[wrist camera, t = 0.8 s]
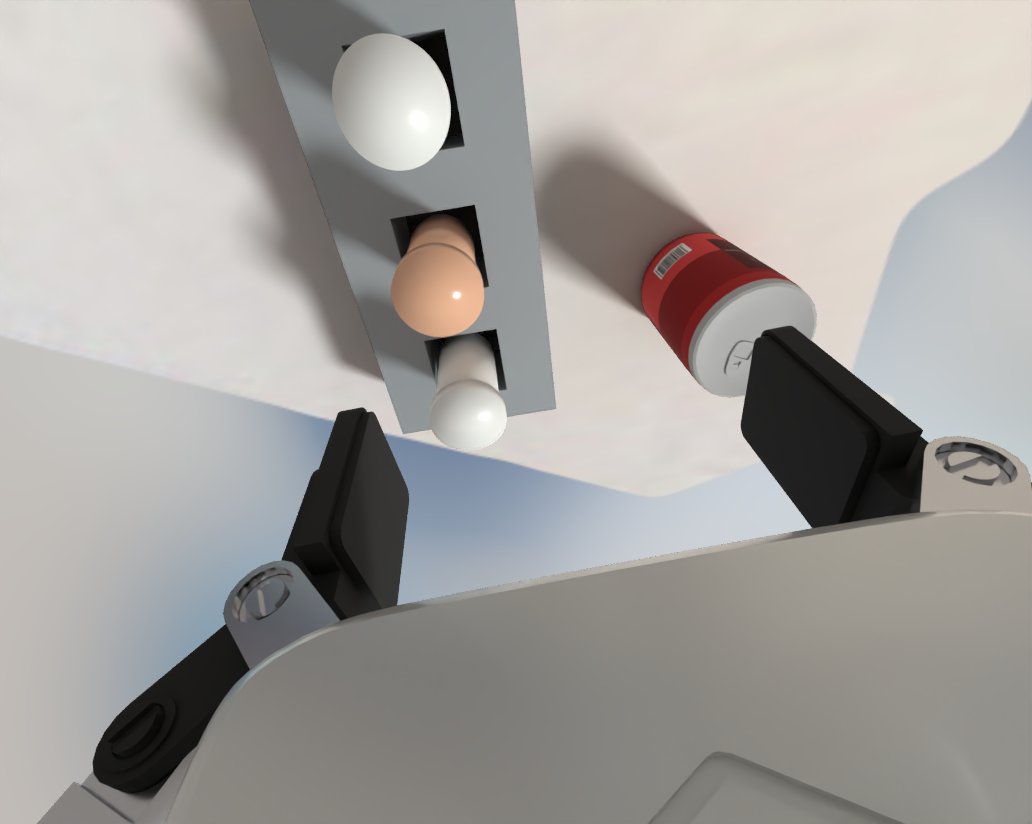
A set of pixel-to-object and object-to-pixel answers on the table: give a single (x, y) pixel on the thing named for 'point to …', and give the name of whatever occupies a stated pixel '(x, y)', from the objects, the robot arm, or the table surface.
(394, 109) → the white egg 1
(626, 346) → the table surface
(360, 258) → the socket board
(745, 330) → the canned food
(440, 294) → the plug terracotta
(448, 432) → the grey plug
